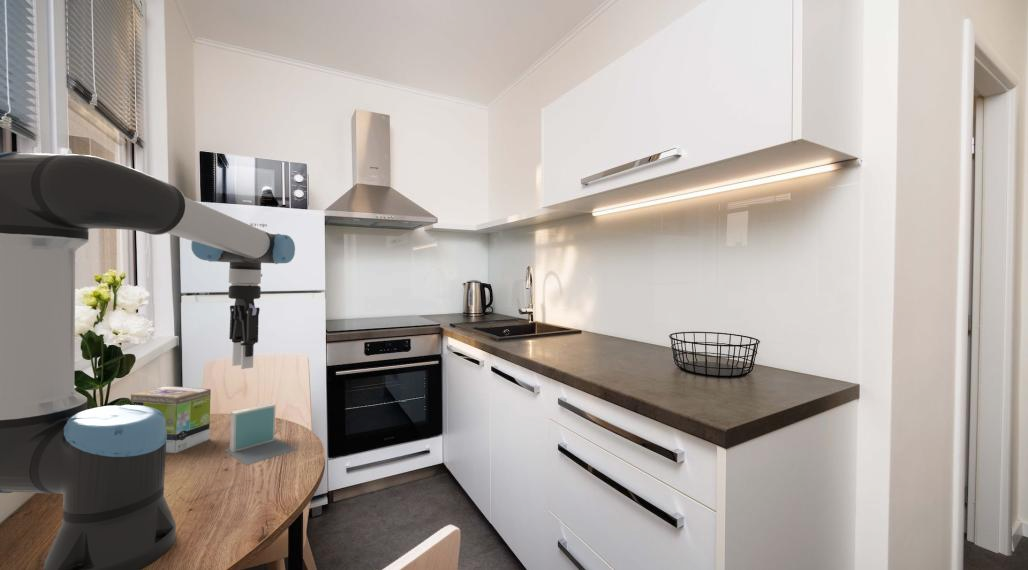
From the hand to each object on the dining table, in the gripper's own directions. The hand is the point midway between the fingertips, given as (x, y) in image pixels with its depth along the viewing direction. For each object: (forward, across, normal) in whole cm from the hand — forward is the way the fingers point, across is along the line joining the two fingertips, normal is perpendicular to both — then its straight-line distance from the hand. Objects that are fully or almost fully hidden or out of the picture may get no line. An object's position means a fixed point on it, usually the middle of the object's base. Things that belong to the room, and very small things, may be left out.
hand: (242, 366), depth 113 cm
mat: (+21, -13, 0) cm, 25 cm away
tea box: (+21, +10, +13) cm, 27 cm away
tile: (+20, -8, 0) cm, 22 cm away
